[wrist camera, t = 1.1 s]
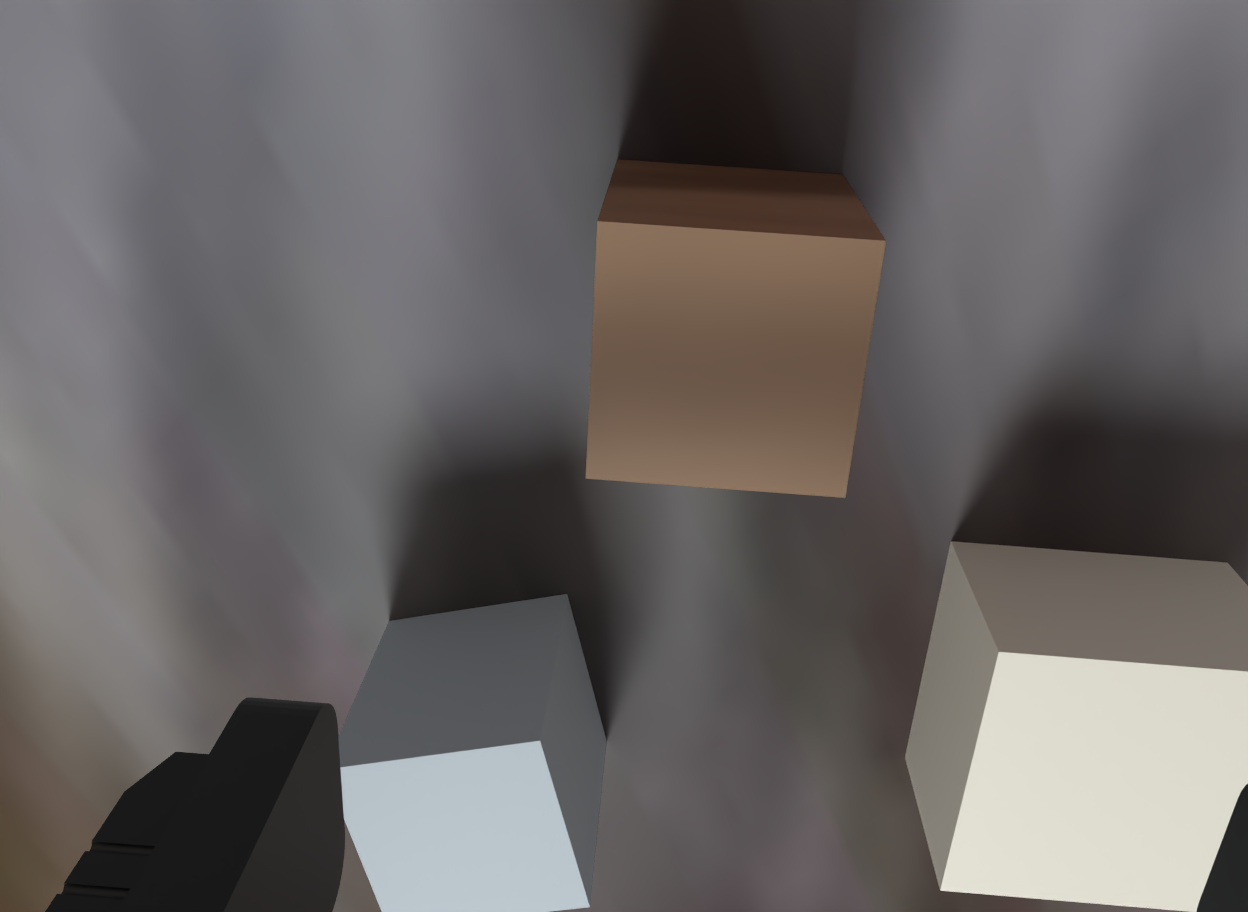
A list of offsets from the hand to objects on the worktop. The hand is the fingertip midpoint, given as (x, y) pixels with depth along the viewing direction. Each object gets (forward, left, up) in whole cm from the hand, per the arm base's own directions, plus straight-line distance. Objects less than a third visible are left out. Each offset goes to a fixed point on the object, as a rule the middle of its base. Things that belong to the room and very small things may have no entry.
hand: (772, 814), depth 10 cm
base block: (+10, +10, -18) cm, 23 cm away
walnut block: (0, 0, -17) cm, 17 cm away
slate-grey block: (+12, -5, -17) cm, 22 cm away
